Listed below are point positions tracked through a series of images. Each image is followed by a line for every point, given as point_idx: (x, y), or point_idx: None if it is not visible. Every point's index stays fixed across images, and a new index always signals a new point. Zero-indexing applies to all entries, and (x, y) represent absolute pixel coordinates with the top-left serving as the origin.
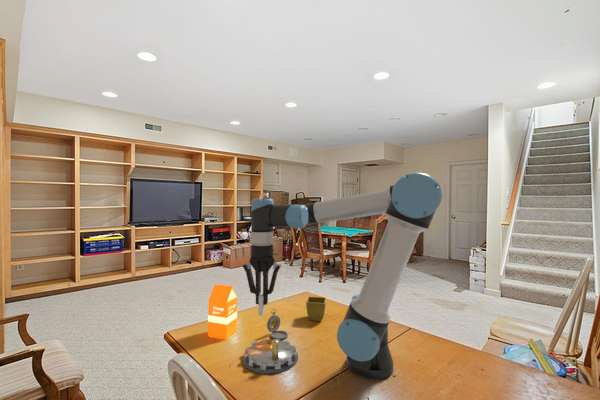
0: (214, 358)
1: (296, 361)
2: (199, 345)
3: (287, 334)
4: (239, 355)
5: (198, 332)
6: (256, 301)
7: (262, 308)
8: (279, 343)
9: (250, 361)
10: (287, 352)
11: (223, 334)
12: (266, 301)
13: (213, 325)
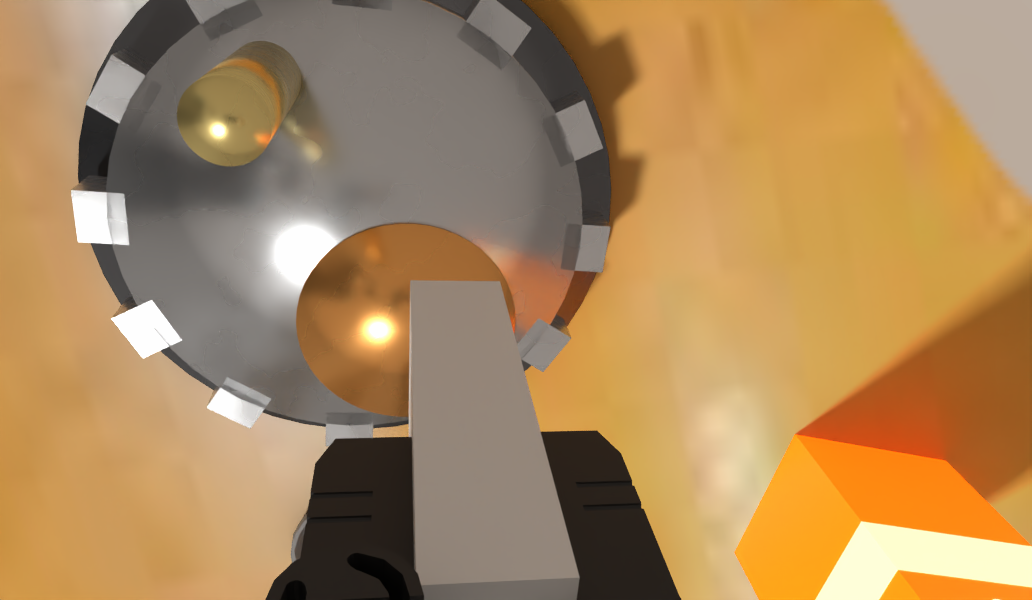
0: (850, 153)
1: (80, 158)
2: (995, 329)
3: (292, 562)
4: (647, 221)
5: (1022, 502)
6: (610, 478)
7: (422, 352)
8: (302, 370)
9: (512, 13)
10: (171, 219)
11: (841, 463)
12: (322, 501)
13: (965, 520)
